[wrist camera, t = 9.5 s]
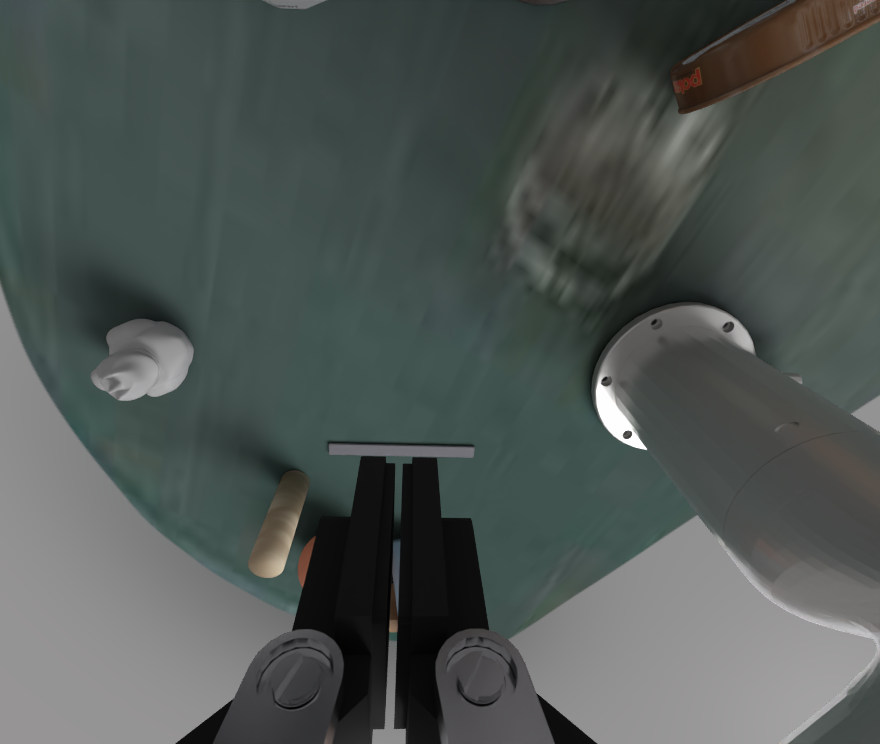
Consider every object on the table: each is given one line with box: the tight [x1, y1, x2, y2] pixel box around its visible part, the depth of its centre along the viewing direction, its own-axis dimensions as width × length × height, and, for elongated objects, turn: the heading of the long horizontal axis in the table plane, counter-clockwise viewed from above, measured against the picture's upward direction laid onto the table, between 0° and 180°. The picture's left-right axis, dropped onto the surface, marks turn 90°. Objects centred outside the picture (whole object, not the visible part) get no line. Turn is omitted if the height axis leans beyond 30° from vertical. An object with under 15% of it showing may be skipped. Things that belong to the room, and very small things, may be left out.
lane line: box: [329, 443, 474, 457], centre depth 40 cm, size 12×1×1 cm, turn 86°
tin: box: [670, 0, 880, 114], centre depth 25 cm, size 15×3×8 cm, turn 117°
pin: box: [392, 538, 400, 613], centre depth 42 cm, size 2×2×9 cm
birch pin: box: [248, 470, 310, 578], centre depth 37 cm, size 2×2×9 cm
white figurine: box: [91, 319, 194, 401], centre depth 32 cm, size 5×7×8 cm
